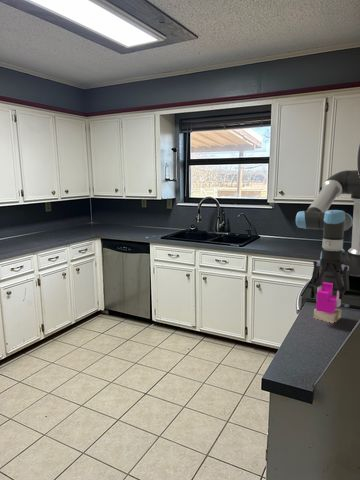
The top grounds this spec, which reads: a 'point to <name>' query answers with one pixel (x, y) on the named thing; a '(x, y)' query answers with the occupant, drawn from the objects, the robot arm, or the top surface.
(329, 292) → the toy block
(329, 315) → the riser
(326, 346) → the top surface
